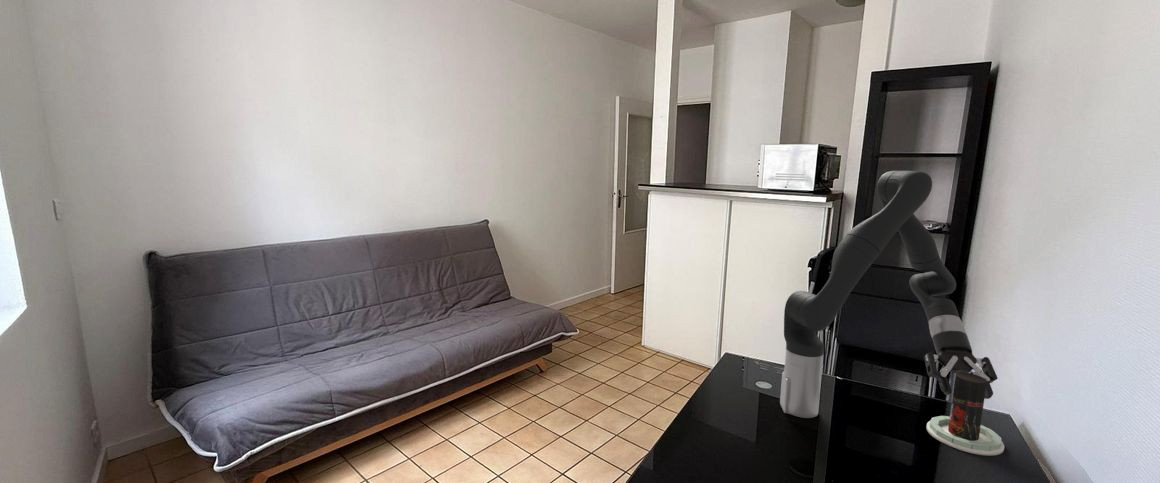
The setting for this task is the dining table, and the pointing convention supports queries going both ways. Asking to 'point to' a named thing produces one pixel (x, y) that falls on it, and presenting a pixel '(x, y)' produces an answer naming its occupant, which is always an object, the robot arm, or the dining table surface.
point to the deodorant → (967, 406)
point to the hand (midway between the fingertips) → (968, 395)
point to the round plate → (984, 445)
